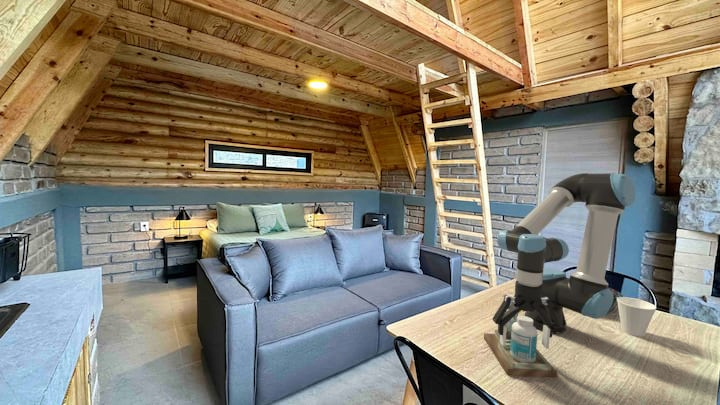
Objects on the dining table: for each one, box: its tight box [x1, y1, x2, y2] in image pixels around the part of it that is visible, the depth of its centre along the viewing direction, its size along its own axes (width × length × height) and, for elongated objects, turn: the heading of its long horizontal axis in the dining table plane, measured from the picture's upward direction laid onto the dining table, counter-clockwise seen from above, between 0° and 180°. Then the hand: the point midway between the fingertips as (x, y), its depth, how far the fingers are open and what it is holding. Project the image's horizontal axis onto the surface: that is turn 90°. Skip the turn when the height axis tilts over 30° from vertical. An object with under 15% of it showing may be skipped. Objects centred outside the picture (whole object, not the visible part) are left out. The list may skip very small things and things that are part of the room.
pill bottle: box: [510, 315, 538, 363], centre depth 98 cm, size 8×7×14 cm
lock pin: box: [505, 301, 519, 340], centre depth 109 cm, size 5×5×14 cm
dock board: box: [483, 329, 558, 379], centre depth 103 cm, size 15×21×4 cm
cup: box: [617, 296, 657, 337], centre depth 121 cm, size 12×12×12 cm
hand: (523, 345), depth 99 cm, fingers open, 13 cm apart
